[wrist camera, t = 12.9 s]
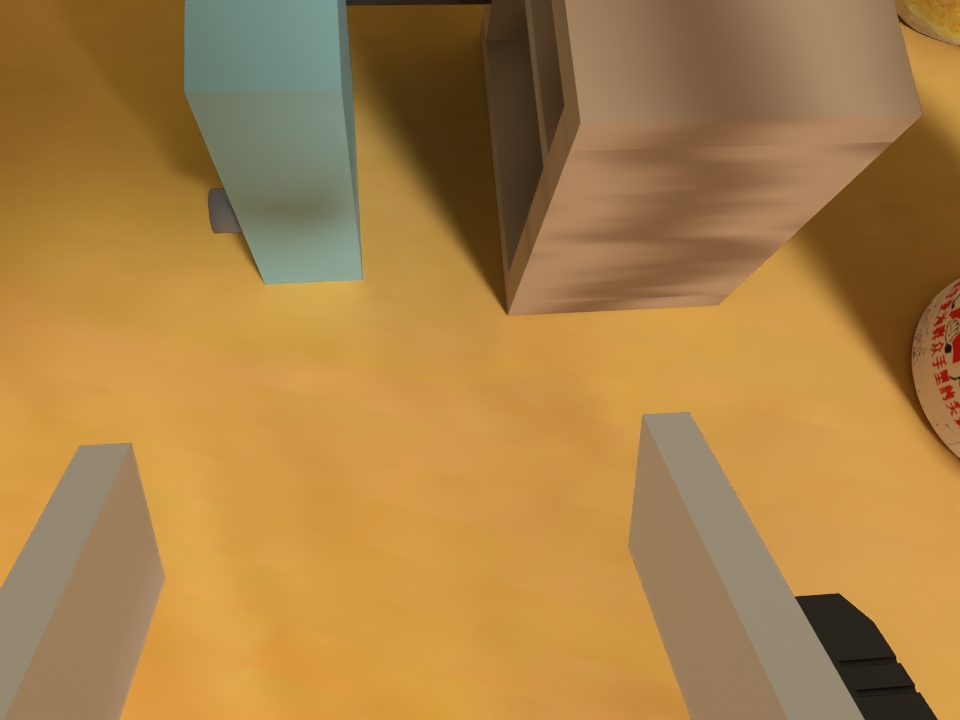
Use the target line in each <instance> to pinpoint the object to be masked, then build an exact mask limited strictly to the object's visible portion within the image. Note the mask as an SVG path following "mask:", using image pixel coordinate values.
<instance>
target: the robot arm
mask: <svg viewBox="0 0 960 720" xmlns="http://www.w3.org/2000/svg"><path fill="white" fill-rule="evenodd" d="M628 547H629V550H630V553H631V555H632V558H633V561H634V564H635V566H636V569H637V572H638V575H639V578H640V580H641V583H642V586H643V589H644V591H645V594H646V597H647V600H648V602H649V605H650V608H651V611H652V613H653V616H654V619H655V622H656V625H657V627H658V630H659V633H660V636H661V638H662V641H663V644H664V647H665V649H666V652H667V655H668V658H669V660H670V663H671V666H672V669H673V671H674V674H675V677H676V680H677V683H678V685H679V688H680V691H681V694H682V696H683V699H684V702H685V705H686V707H687V710H688V713H689V716H690V718H691V720H938V719H937V718H936V716H935V715H934V713H933V712H932V710H931V709H930V707H929V706H928V704H927V703H926V701H925V699H924V698H923V696H922V695H921V693H920V692H918V693H917V692H916V690H915V684H914V683H913V681H912V680H911V678H910V677H909V675H908V674H907V672H906V671H905V669H904V668H903V666H902V664H901V663H897V661H896V655H895V654H894V652H893V651H892V649H891V648H890V646H889V645H888V643H887V642H886V640H885V639H884V637H883V636H882V634H881V633H880V631H879V630H878V628H877V626H876V625H875V623H874V622H873V621H872V620H871V619H869V618H868V617H867V616H866V615H865V614H863V613H862V612H861V611H860V610H858V609H857V608H856V607H855V606H854V605H852V604H851V603H850V602H849V601H848V600H846V599H845V598H844V597H843V596H841V595H840V594H839V593H837V594H823V595H810V596H796V597H794V595H793V593H792V591H791V590H790V588H789V586H788V584H787V583H786V581H785V579H784V577H783V576H782V574H781V572H780V570H779V569H778V567H777V565H776V563H775V562H774V560H773V558H772V556H771V555H770V553H769V551H768V549H767V548H766V546H765V544H764V542H763V541H762V539H761V537H760V535H759V533H758V532H757V530H756V528H755V526H754V525H753V523H752V521H751V519H750V518H749V516H748V514H747V512H746V511H745V509H744V507H743V505H742V504H741V502H740V500H739V498H738V497H737V495H736V493H735V491H734V490H733V488H732V486H731V484H730V483H729V481H728V479H727V477H726V476H725V474H724V472H723V470H722V469H721V467H720V465H719V463H718V462H717V460H716V458H715V456H714V455H713V453H712V451H711V449H710V448H709V446H708V444H707V442H706V441H705V439H704V437H703V435H702V433H701V432H700V430H699V428H698V426H697V425H696V423H695V421H694V419H693V418H692V416H691V414H690V412H681V413H663V414H645V415H642V423H641V433H640V442H639V451H638V461H637V470H636V479H635V489H634V498H633V507H632V517H631V526H630V535H629V545H628ZM164 580H165V576H164V572H163V567H162V563H161V559H160V555H159V551H158V547H157V543H156V539H155V535H154V531H153V527H152V523H151V519H150V515H149V511H148V507H147V503H146V499H145V495H144V491H143V487H142V483H141V479H140V475H139V471H138V467H137V463H136V459H135V455H134V451H133V447H132V443H121V444H103V445H85V446H79V448H78V449H77V451H76V453H75V455H74V457H73V458H72V460H71V462H70V464H69V466H68V468H67V469H66V471H65V473H64V475H63V477H62V478H61V480H60V482H59V484H58V486H57V488H56V489H55V491H54V493H53V495H52V497H51V498H50V500H49V502H48V504H47V506H46V507H45V509H44V511H43V513H42V515H41V517H40V518H39V520H38V522H37V524H36V526H35V527H34V529H33V531H32V533H31V535H30V537H29V538H28V540H27V542H26V544H25V546H24V547H23V549H22V551H21V553H20V555H19V557H18V558H17V560H16V562H15V564H14V566H13V567H12V569H11V571H10V573H9V575H8V576H7V578H6V580H5V582H4V584H3V586H2V587H1V589H0V720H120V717H121V714H122V710H123V707H124V704H125V701H126V698H127V695H128V692H129V689H130V686H131V683H132V679H133V676H134V673H135V670H136V667H137V664H138V661H139V658H140V655H141V651H142V648H143V645H144V642H145V639H146V636H147V633H148V630H149V627H150V624H151V620H152V617H153V614H154V611H155V608H156V605H157V602H158V599H159V596H160V592H161V589H162V586H163V583H164Z"/></svg>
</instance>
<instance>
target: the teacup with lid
mask: <svg viewBox="0 0 960 720" xmlns="http://www.w3.org/2000/svg"><path fill="white" fill-rule="evenodd" d="M912 374H913V379H914V385H915V388H916V392H917V396H918V398H919V401H920V404H921V406H922V408H923V411H924V413H925V415H926V417H927V419H928V420H929V422H930V424H931V426H932V427H933V428H934V430H935V431H936V433H937V434H938V436H939V437H940V438H941V439H942V441H943V442H944V443H945V444H946V445H947V447H948V448H949V449H950V450H951V451H952V452H953V453H954V454H955V455H956V456H958V457H959V458H960V278H959V279H958V280H956V281H954V282H952V283H951V284H949V285H948V286H947V287H945V288H944V289H943V290H942V291H941V292H940V293H939V294H938V295H937V296H935V298H934V299H933V300H932V301H931V302H930V304H929V305H928V306H927V308H926V310H925V311H924V313H923V315H922V317H921V319H920V321H919V323H918V326H917V329H916V332H915V336H914V340H913V347H912Z"/></svg>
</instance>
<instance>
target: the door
mask: <svg viewBox="0 0 960 720" xmlns="http://www.w3.org/2000/svg"><path fill="white" fill-rule="evenodd" d="M184 94H185V96H186V99H187V101H188V103H189V106H190V108H191V111H192V113H193V115H194V118H195V120H196V122H197V125H198V127H199V130H200V132H201V134H202V137H203V139H204V141H205V144H206V146H207V148H208V151H209V153H210V156H211V158H212V160H213V163H214V165H215V167H216V170H217V172H218V175H219V177H220V179H221V182H222V184H223V186H224V188H214V189H210V190H209V195H208V208H209V218H210V223H211V227H212V230H213V232H214V233H239V232H243V234H244V236H245V239H246V241H247V243H248V246H249V248H250V250H251V253H252V255H253V258H254V260H255V262H256V265H257V267H258V269H259V272H260V274H261V276H262V279H263V281H264V284H265V285H267V284H288V283H310V282H332V281H354V280H363V273H362V253H361V234H360V214H359V195H358V175H357V156H356V136H355V117H354V97H353V78H352V65H351V54H350V43H349V31H348V20H347V9H346V0H185V28H184Z"/></svg>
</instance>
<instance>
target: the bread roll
mask: <svg viewBox="0 0 960 720" xmlns="http://www.w3.org/2000/svg"><path fill="white" fill-rule="evenodd" d="M894 3H895V7H896V11H897V14H898V15H899V16H900V17H901V18H902V19H903V20H904V21H905V23H907V24H908V25H909V26H910V27H912V28H913V29H915V30H916V31H918V32H920V33H922V34H925V35H927V36H929V37H932V38H934V39H937V40H940V41H944V42H947V43H950V44H952V45H960V0H894Z"/></svg>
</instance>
